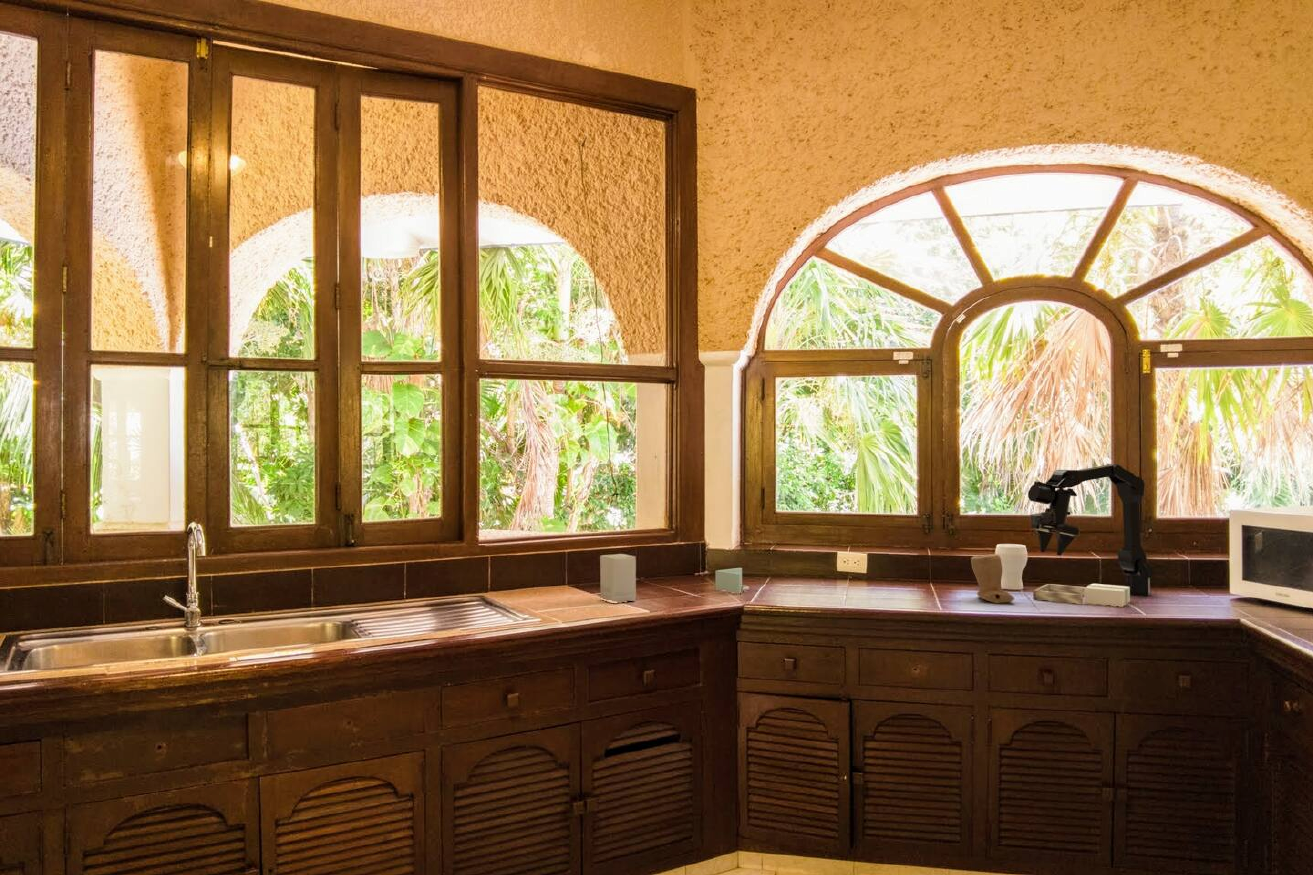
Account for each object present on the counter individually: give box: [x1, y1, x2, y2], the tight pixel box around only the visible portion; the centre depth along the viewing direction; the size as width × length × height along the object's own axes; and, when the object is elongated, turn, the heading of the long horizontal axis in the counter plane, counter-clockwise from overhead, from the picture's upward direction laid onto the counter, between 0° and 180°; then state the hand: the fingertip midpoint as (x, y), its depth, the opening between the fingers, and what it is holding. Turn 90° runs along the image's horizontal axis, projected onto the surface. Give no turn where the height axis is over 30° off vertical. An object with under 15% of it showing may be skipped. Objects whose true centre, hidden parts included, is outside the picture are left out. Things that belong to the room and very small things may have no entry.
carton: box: [1083, 583, 1131, 608], centre depth 285 cm, size 11×11×5 cm
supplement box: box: [599, 553, 637, 601], centre depth 293 cm, size 9×9×15 cm
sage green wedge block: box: [714, 567, 750, 594], centre depth 313 cm, size 12×12×8 cm
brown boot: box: [970, 553, 1015, 604], centre depth 291 cm, size 15×12×15 cm
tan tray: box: [1032, 583, 1085, 605], centre depth 293 cm, size 15×17×3 cm
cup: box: [994, 543, 1028, 591], centre depth 315 cm, size 11×11×15 cm
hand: (1050, 553), depth 294 cm, fingers open, 9 cm apart
